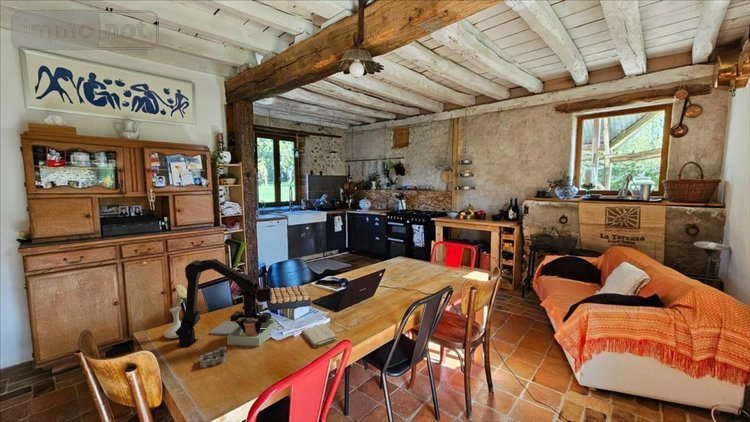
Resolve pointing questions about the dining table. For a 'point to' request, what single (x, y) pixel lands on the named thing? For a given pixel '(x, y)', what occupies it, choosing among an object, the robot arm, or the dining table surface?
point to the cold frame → (236, 339)
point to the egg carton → (210, 355)
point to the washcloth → (319, 335)
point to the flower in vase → (176, 313)
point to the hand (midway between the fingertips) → (252, 333)
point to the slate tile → (224, 328)
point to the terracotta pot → (250, 327)
